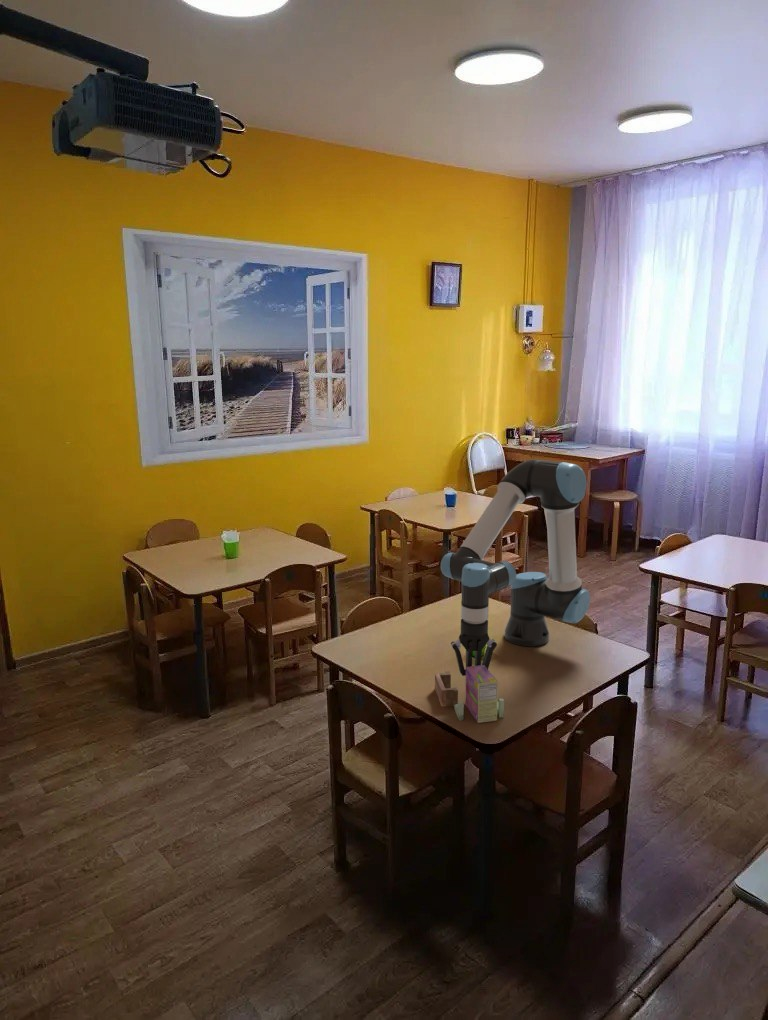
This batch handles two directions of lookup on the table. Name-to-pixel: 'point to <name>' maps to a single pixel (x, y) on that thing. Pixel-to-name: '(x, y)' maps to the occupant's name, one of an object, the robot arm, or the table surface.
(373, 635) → the table surface
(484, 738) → the table surface
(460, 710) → the kerbs
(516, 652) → the table surface
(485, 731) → the table surface
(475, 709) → the box
